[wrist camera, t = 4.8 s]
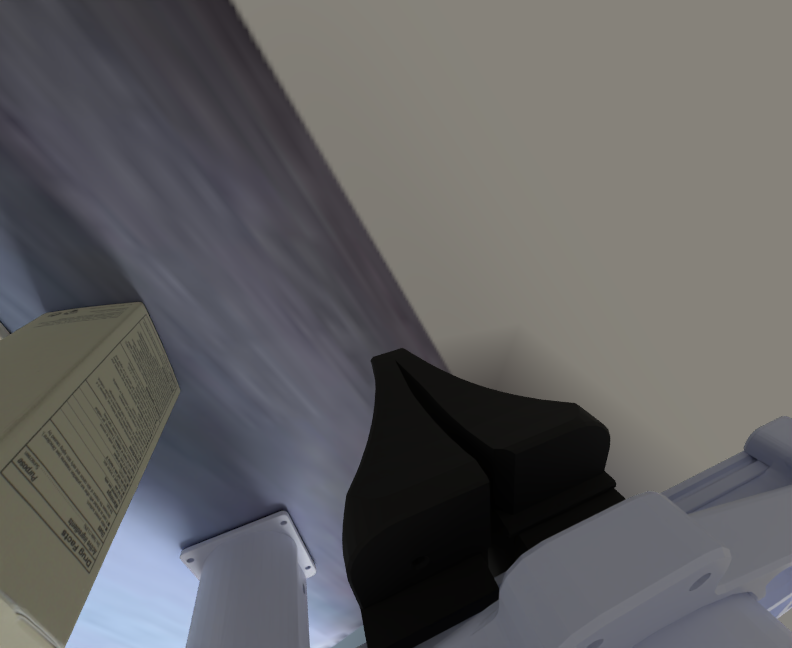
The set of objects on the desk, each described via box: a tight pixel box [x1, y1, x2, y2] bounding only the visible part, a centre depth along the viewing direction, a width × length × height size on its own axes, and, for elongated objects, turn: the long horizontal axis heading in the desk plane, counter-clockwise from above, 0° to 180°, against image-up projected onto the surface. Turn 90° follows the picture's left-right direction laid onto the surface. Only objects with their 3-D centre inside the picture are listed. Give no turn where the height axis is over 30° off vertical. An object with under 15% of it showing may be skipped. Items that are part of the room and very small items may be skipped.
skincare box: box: [0, 302, 180, 648], centre depth 12 cm, size 6×4×12 cm
